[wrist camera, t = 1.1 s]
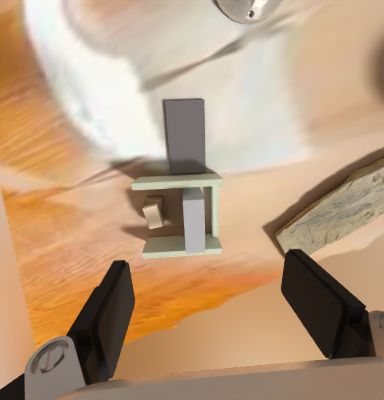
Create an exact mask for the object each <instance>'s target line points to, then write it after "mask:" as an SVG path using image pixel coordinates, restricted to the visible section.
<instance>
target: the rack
mask: <svg viewBox="0 0 384 400" xmlns="http://www.w3.org/2000/svg"><path fill="white" fill-rule="evenodd" d="M131 185H132V190H149V189H168V188H187V187H207V186H211V234H205V252H200V253H186V246H185V235H183V236H166V237H149V238H147V241H146V244H145V246H144V249H143V252H142V257H143V258H159V257H175V256H190V255H206V254H221V253H222V247H221V244H220V241H219V239H218V191H219V186H223V178H221V177H220V176H219V175H218V174H217V173H208V174H188V175H168V176H148V177H139V178H138V179H136V180H135V181H134V182H133V183H131Z"/></svg>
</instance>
